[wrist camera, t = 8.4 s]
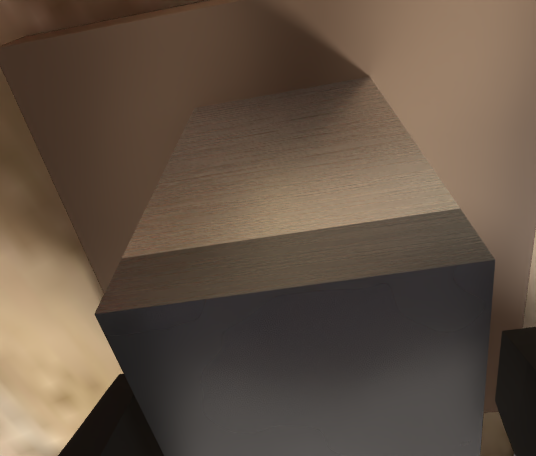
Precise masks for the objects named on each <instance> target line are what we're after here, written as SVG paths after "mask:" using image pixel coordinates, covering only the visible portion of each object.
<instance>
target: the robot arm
mask: <svg viewBox="0 0 536 456" xmlns="http://www.w3.org/2000/svg"><path fill="white" fill-rule="evenodd" d="M495 402H496V405H497V408H498V411H499V414H500V416H501V419H502V422H503V425H504V428H505V430H506V433H507V435H508V438H509V441H510V443H511V446H512V448H513V451H514V456H536V327H531V328H522V329H514V330H505V331H502V336H501V346H500V356H499V365H498V375H497V385H496V394H495ZM58 456H164V454H163V452H162V450H161V448H160V446H159V444H158V442H157V440H156V438H155V436H154V434H153V432H152V430H151V428H150V426H149V424H148V422H147V420H146V418H145V416H144V414H143V412H142V410H141V408H140V406H139V404H138V401H137V399H136V397H135V395H134V393H133V391H132V389H131V387H130V385H129V383H128V381H127V379H126V377H125V375H124V374H119V375H118V377H117V378H116V379H115V381H114V382H113V383H112V384H111V386H110V387H109V388H108V390H107V391H106V392H105V394H104V395H103V396H102V398H101V399H100V400H99V402H98V403H97V404H96V406H95V407H94V409H93V410H92V411H91V413H90V414H89V415H88V417H87V418H86V419H85V421H84V422H83V423H82V425H81V426H80V427H79V429H78V430H77V431H76V433H75V434H74V435H73V437H72V438H71V439H70V441H69V442H68V443H67V445H66V446H65V447H64V449H63V450H62V451H61V452H60V454H59V455H58Z"/></svg>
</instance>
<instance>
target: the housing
mask: <svg viewBox="0 0 536 456" xmlns="http://www.w3.org/2000/svg"><path fill="white" fill-rule="evenodd" d="M494 271H495V259H494V257H493V256H492V254H491V253H490V251H489V250H488V248H487V247H486V245H485V244H484V242H483V241H482V240H481V238H480V237H479V235H478V234H477V232H476V231H475V229H474V228H473V226H472V225H471V223H470V222H469V221H468V219H467V218H466V216H465V215H464V213H463V212H462V210H461V209H460V207H459V206H458V204H457V203H456V202H455V200H454V199H453V197H452V196H451V194H450V193H449V191H448V190H447V188H446V187H445V185H444V184H443V183H442V181H441V180H440V178H439V177H438V175H437V174H436V172H435V171H434V169H433V168H432V166H431V165H430V164H429V162H428V161H427V159H426V158H425V156H424V155H423V153H422V152H421V150H420V149H419V147H418V146H417V145H416V143H415V142H414V140H413V139H412V137H411V136H410V134H409V133H408V131H407V130H406V128H405V127H404V126H403V124H402V123H401V121H400V120H399V118H398V117H397V115H396V114H395V112H394V111H393V109H392V108H391V107H390V105H389V104H388V102H387V101H386V99H385V98H384V96H383V95H382V93H381V92H380V90H379V89H378V88H377V86H376V85H375V83H374V82H373V80H372V79H371V77H364V78H359V79H353V80H348V81H342V82H337V83H331V84H325V85H320V86H314V87H309V88H303V89H298V90H292V91H287V92H281V93H276V94H270V95H264V96H259V97H253V98H248V99H242V100H237V101H231V102H226V103H220V104H215V105H209V106H203V107H198V108H194V110H193V112H192V114H191V116H190V118H189V121H188V123H187V125H186V127H185V129H184V131H183V133H182V135H181V137H180V139H179V141H178V143H177V145H176V147H175V149H174V151H173V153H172V156H171V158H170V160H169V162H168V164H167V166H166V168H165V170H164V172H163V174H162V176H161V178H160V180H159V182H158V184H157V186H156V189H155V191H154V193H153V195H152V197H151V199H150V201H149V203H148V205H147V207H146V209H145V211H144V213H143V215H142V217H141V219H140V222H139V224H138V226H137V228H136V230H135V232H134V234H133V236H132V238H131V240H130V242H129V244H128V246H127V248H126V250H125V252H124V254H123V257H122V259H121V261H120V263H119V265H118V267H117V269H116V271H115V273H114V275H113V277H112V279H111V281H110V283H109V285H108V287H107V290H106V292H105V294H104V296H103V298H102V300H101V302H100V304H99V306H98V308H97V310H96V312H95V316H96V318H97V320H98V322H99V324H100V326H101V328H102V330H103V332H104V334H105V336H106V338H107V340H108V342H109V344H110V347H111V349H112V351H113V353H114V355H115V357H116V359H117V361H118V363H119V365H120V367H121V369H122V371H123V373H124V375H125V377H126V379H127V381H128V383H129V385H130V387H131V389H132V391H133V393H134V395H135V397H136V399H137V401H138V404H139V406H140V408H141V410H142V412H143V414H144V416H145V418H146V420H147V422H148V424H149V426H150V428H151V430H152V432H153V434H154V436H155V438H156V440H157V442H158V444H159V446H160V448H161V450H162V452H163V454H164V456H480V450H481V438H482V425H483V412H484V399H485V386H486V374H487V361H488V348H489V335H490V322H491V310H492V297H493V284H494Z"/></svg>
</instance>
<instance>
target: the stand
mask: <svg viewBox="0 0 536 456" xmlns="http://www.w3.org/2000/svg"><path fill="white" fill-rule="evenodd" d="M0 67H1V69H2V71H3V73H4V75H5V77H6V80H7V82H8V84H9V86H10V88H11V91H12V93H13V95H14V97H15V99H16V102H17V104H18V106H19V108H20V110H21V113H22V115H23V117H24V119H25V121H26V124H27V126H28V128H29V130H30V132H31V135H32V137H33V139H34V141H35V143H36V146H37V148H38V150H39V152H40V154H41V156H42V159H43V161H44V163H45V165H46V167H47V170H48V172H49V174H50V176H51V178H52V181H53V183H54V185H55V187H56V189H57V192H58V194H59V196H60V198H61V200H62V203H63V205H64V207H65V209H66V211H67V214H68V216H69V218H70V220H71V222H72V225H73V227H74V229H75V231H76V233H77V235H78V238H79V240H80V242H81V244H82V246H83V249H84V251H85V253H86V255H87V257H88V260H89V262H90V264H91V266H92V268H93V271H94V273H95V275H96V277H97V279H98V282H99V284H100V286H101V288H102V290H103V293H104V294H105V292H106V290H107V287H108V285H109V283H110V281H111V279H112V277H113V275H114V273H115V271H116V269H117V267H118V265H119V263H120V261H121V259H122V257H123V254H124V252H125V250H126V248H127V246H128V244H129V242H130V240H131V238H132V236H133V234H134V232H135V230H136V228H137V226H138V224H139V222H140V219H141V217H142V215H143V213H144V211H145V209H146V207H147V205H148V203H149V201H150V199H151V197H152V195H153V193H154V191H155V189H156V186H157V184H158V182H159V180H160V178H161V176H162V174H163V172H164V170H165V168H166V166H167V164H168V162H169V160H170V158H171V156H172V153H173V151H174V149H175V147H176V145H177V143H178V141H179V139H180V137H181V135H182V133H183V131H184V129H185V127H186V125H187V123H188V121H189V118H190V116H191V114H192V112H193V110H194V108H198V107H203V106H209V105H215V104H220V103H226V102H231V101H237V100H242V99H248V98H253V97H259V96H264V95H270V94H276V93H281V92H287V91H292V90H298V89H303V88H309V87H314V86H320V85H325V84H331V83H337V82H342V81H348V80H353V79H359V78H364V77H371V79H372V80H373V82H374V83H375V85H376V86H377V88H378V89H379V90H380V92H381V93H382V95H383V96H384V98H385V99H386V101H387V102H388V104H389V105H390V107H391V108H392V109H393V111H394V112H395V114H396V115H397V117H398V118H399V120H400V121H401V123H402V124H403V126H404V127H405V128H406V130H407V131H408V133H409V134H410V136H411V137H412V139H413V140H414V142H415V143H416V145H417V146H418V147H419V149H420V150H421V152H422V153H423V155H424V156H425V158H426V159H427V161H428V162H429V164H430V165H431V166H432V168H433V169H434V171H435V172H436V174H437V175H438V177H439V178H440V180H441V181H442V183H443V184H444V185H445V187H446V188H447V190H448V191H449V193H450V194H451V196H452V197H453V199H454V200H455V202H456V203H457V204H458V206H459V207H460V209H461V210H462V212H463V213H464V215H465V216H466V218H467V219H468V221H469V222H470V223H471V225H472V226H473V228H474V229H475V231H476V232H477V234H478V235H479V237H480V238H481V240H482V241H483V242H484V244H485V245H486V247H487V248H488V250H489V251H490V253H491V254H492V256H493V257H494V259H495V271H494V284H493V297H492V310H491V322H490V335H489V348H488V361H487V374H486V386H485V399H484V412H483V413H487V412H498V408H497V405H496V402H495V394H496V385H497V375H498V365H499V356H500V346H501V336H502V331H505V330H514V329H522V327H523V319H524V312H525V305H526V297H527V290H528V282H529V275H530V267H531V260H532V253H533V245H534V238H535V230H536V0H208V1H203V2H198V3H193V4H188V5H183V6H178V7H173V8H168V9H163V10H158V11H153V12H147V13H142V14H137V15H132V16H127V17H122V18H117V19H112V20H107V21H102V22H97V23H92V24H87V25H82V26H76V27H71V28H66V29H61V30H56V31H51V32H46V33H41V34H36V35H31V36H26V37H22V38H20V39H17V40H15V41H12V42H9V43H7V44H4V45H2V46H0Z"/></svg>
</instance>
